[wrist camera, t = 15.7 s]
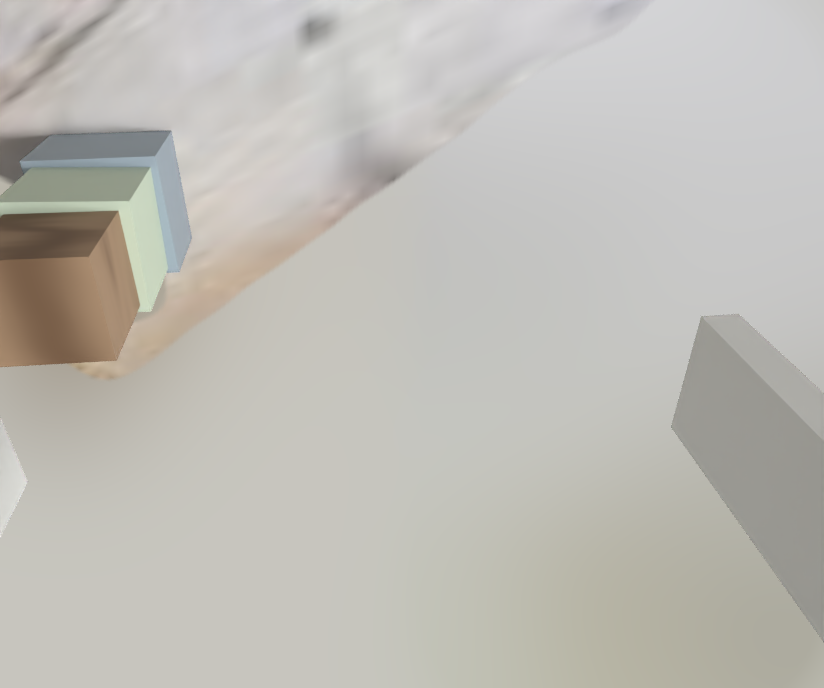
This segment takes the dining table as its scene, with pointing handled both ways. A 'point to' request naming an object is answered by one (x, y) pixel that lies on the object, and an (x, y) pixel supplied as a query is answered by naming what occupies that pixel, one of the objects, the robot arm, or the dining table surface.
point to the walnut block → (64, 288)
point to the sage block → (102, 193)
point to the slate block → (128, 152)
